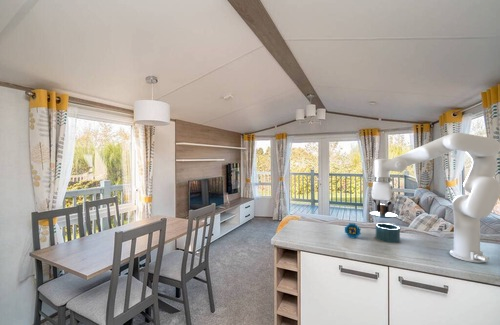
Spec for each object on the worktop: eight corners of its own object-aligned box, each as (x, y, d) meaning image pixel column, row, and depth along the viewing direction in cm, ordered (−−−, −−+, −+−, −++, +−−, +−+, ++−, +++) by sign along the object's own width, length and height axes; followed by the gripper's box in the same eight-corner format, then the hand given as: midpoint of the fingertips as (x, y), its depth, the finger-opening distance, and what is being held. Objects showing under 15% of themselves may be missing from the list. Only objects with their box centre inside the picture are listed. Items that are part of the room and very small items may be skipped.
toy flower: (357, 237, 150) (361, 239, 134) (343, 235, 153) (345, 237, 137) (357, 223, 152) (360, 224, 136) (343, 222, 155) (344, 222, 139)
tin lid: (403, 218, 119) (403, 206, 119) (380, 219, 117) (380, 207, 117) (384, 212, 132) (384, 201, 132) (364, 213, 130) (363, 202, 130)
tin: (404, 242, 130) (404, 229, 130) (385, 244, 129) (385, 229, 129) (388, 235, 143) (388, 223, 143) (371, 236, 141) (371, 223, 141)
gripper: (401, 180, 120) (401, 213, 120) (370, 179, 133) (370, 209, 133) (395, 181, 116) (396, 216, 116) (364, 179, 129) (365, 210, 129)
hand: (382, 212), depth 124 cm, fingers closed on tin lid, 2 cm apart
